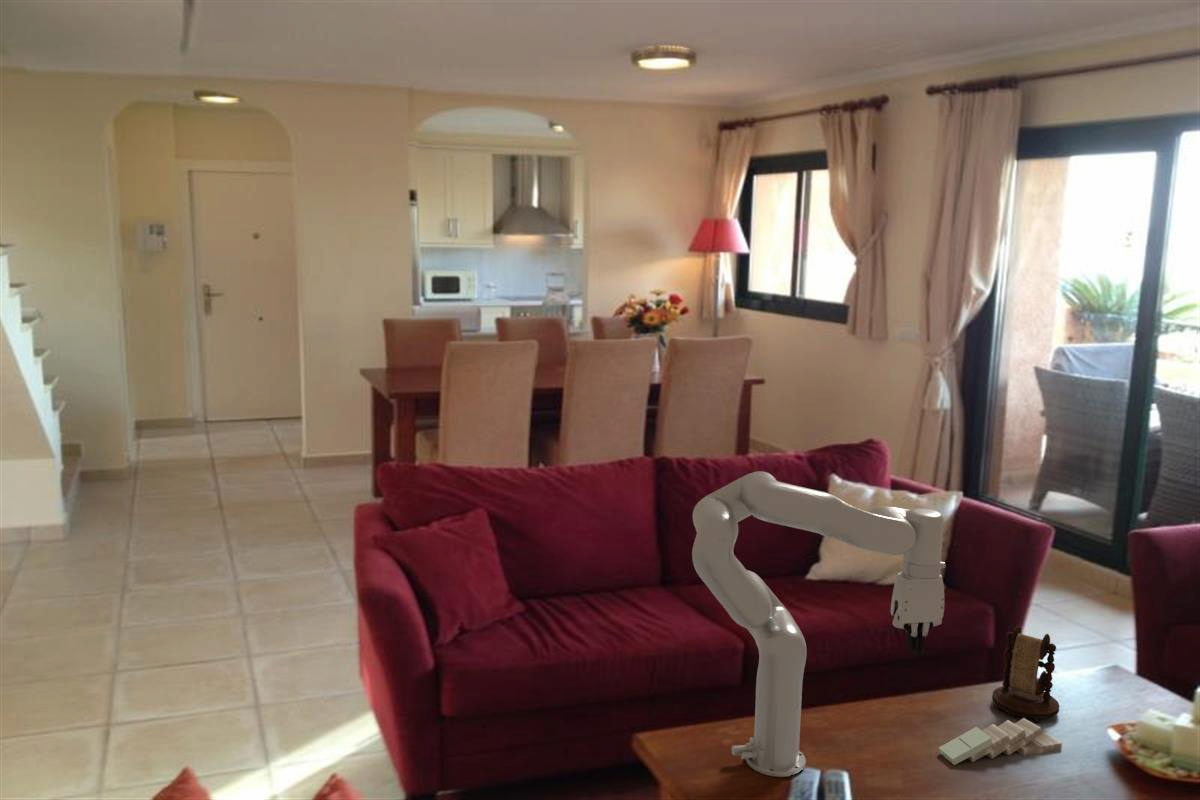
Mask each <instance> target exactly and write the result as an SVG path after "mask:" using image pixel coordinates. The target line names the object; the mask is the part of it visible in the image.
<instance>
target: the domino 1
mask: <svg viewBox="0 0 1200 800" xmlns="http://www.w3.org/2000/svg"><path fill="white" fill-rule="evenodd" d="M992 744H993V742H992V739H991V737H989V736H988V735H987V734H985V733H984V732H983V731H982V729H981V728H979V727H977V726H975V727H973V728H972V729H970V730H968V731H966V732H964V733H963V734H961V735H958V736H957V737H955V738H954V739H953V738H952V739H951V740H950V741H948V742H946V743H944V744H942V745H940V746H939V747H938V750H939V754H940V755H942V756H943V757H944V758H945V759H946V760H947V761H949V762H950V763H951V764H952V765H954V766H956V765H957V764H959V763H961V762H962V761H965V760H966V759H968V757H970V756H972V755H974V754H976V753H978V752H979V751H981V750H983V749H985V748H987V747H988V746H990V745H992Z"/></svg>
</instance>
